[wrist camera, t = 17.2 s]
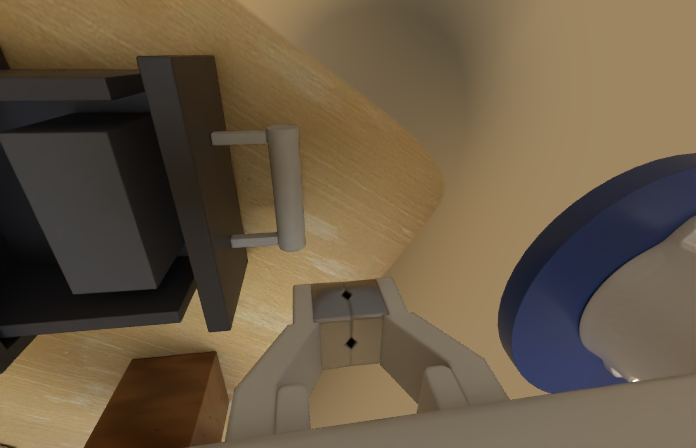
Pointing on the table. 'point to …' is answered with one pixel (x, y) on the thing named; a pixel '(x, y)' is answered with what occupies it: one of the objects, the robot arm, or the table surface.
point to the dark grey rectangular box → (99, 197)
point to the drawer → (186, 186)
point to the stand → (165, 405)
